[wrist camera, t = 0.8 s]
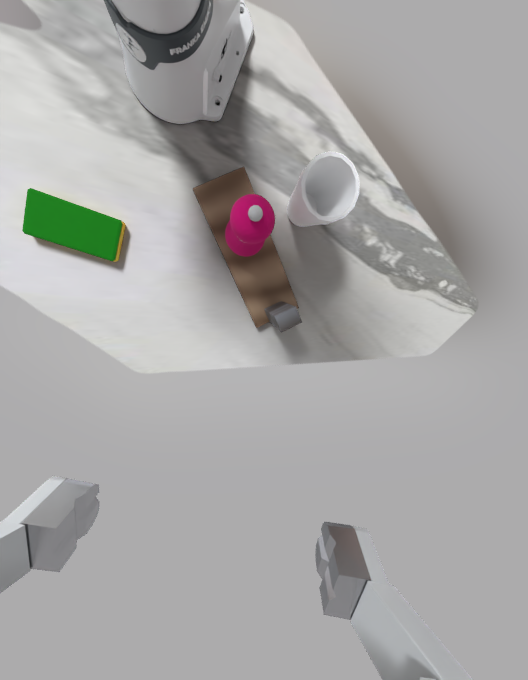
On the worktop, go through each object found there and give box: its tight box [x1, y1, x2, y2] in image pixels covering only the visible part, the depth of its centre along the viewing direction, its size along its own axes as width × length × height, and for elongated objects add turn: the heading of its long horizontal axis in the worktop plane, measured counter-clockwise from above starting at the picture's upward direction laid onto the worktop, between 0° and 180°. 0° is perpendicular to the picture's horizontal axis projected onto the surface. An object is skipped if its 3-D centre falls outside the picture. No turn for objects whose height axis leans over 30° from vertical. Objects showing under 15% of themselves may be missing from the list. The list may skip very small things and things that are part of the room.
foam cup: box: [287, 151, 359, 227], centre depth 43 cm, size 10×9×13 cm
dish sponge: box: [23, 188, 126, 262], centre depth 42 cm, size 7×14×2 cm, turn 72°
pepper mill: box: [225, 194, 275, 257], centre depth 38 cm, size 7×7×20 cm
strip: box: [193, 167, 302, 332], centre depth 44 cm, size 28×10×12 cm, turn 24°
